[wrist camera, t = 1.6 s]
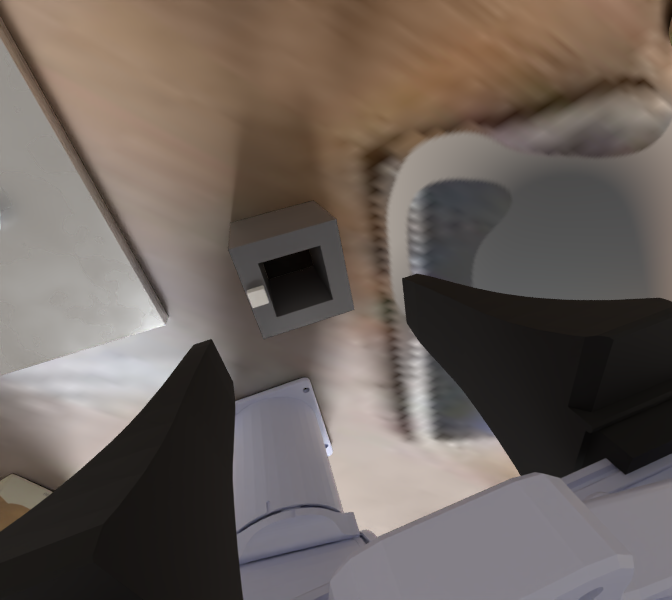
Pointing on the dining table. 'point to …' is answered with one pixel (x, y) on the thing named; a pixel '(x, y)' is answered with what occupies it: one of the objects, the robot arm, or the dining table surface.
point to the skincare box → (18, 498)
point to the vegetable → (670, 32)
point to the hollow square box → (299, 286)
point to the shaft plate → (57, 238)
